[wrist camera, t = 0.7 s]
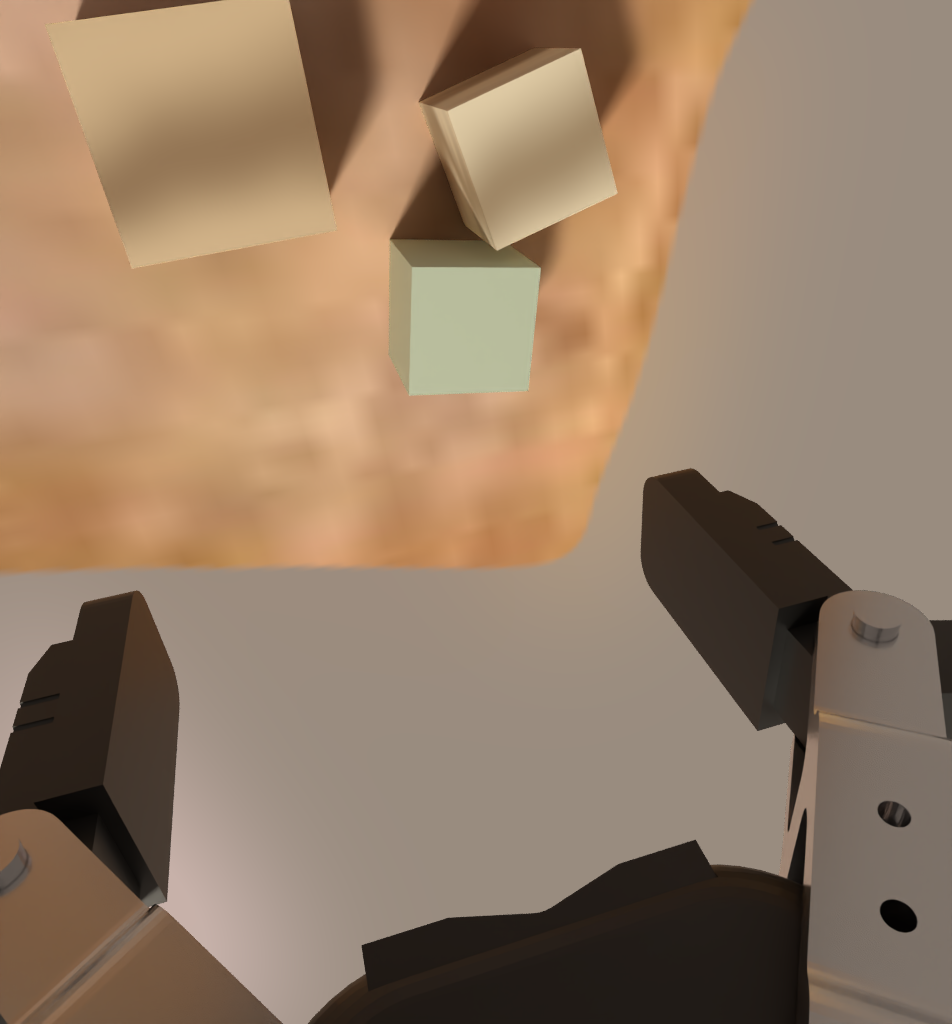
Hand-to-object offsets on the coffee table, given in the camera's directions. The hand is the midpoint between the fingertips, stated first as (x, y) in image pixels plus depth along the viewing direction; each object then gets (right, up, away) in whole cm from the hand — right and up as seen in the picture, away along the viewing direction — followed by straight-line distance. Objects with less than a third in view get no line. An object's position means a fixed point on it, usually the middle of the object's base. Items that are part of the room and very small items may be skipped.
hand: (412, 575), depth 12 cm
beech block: (+2, +16, +19) cm, 25 cm away
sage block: (0, +11, +22) cm, 24 cm away
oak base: (-9, +15, +17) cm, 24 cm away
